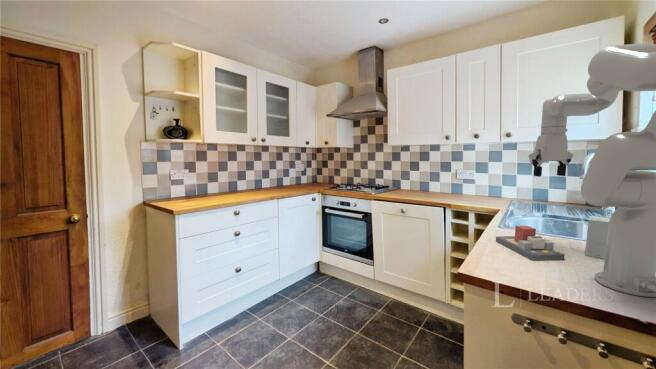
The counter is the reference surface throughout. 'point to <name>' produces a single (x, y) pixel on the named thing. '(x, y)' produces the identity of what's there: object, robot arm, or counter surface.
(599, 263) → the counter surface
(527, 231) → the red block
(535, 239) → the breaker switch
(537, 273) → the counter surface
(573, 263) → the counter surface
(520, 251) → the breaker panel
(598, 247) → the small box
